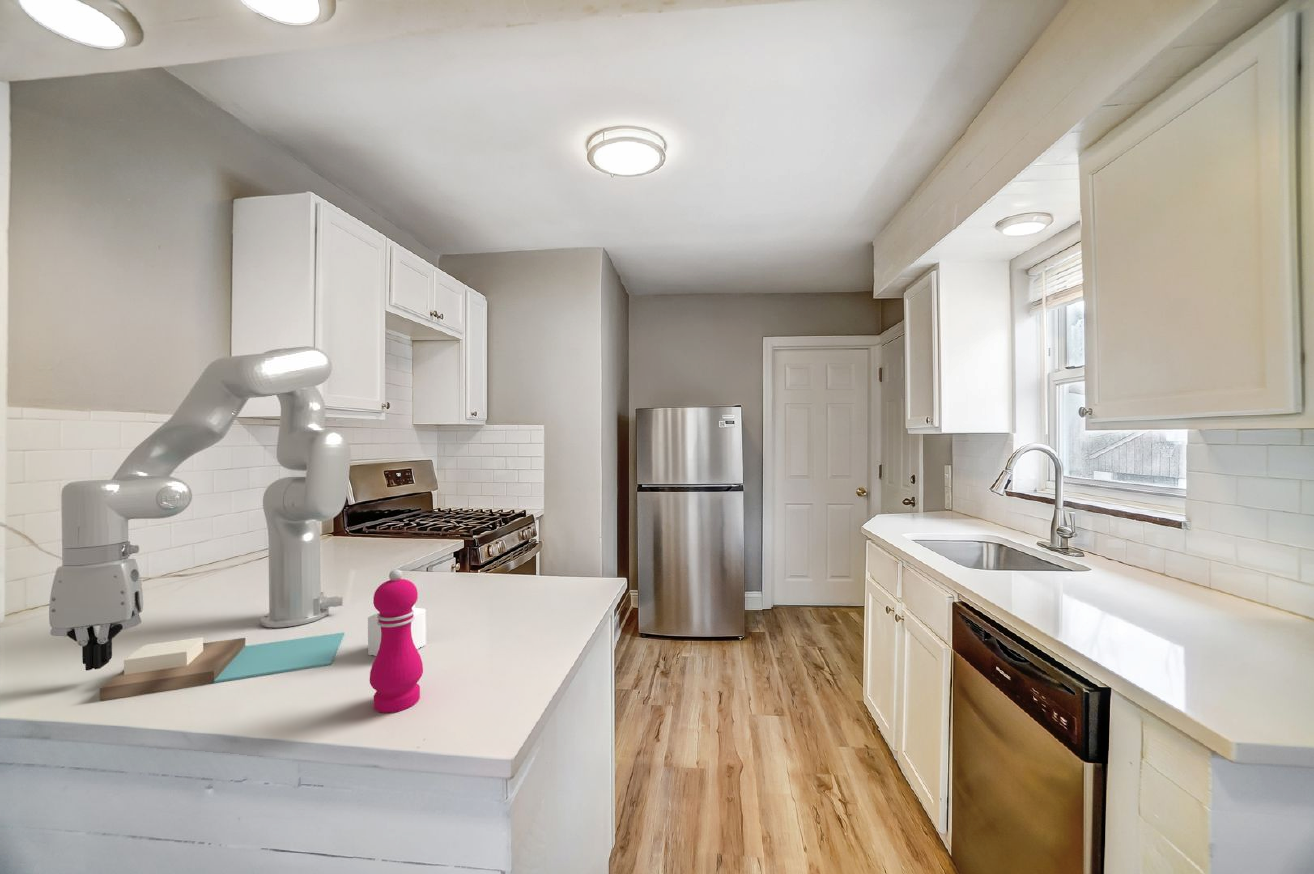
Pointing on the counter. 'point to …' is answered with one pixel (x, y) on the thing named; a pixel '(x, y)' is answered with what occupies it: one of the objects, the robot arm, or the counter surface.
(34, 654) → the counter surface
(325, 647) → the mat
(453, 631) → the counter surface
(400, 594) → the pepper mill
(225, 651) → the board
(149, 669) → the block
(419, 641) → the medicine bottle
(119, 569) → the robot arm
